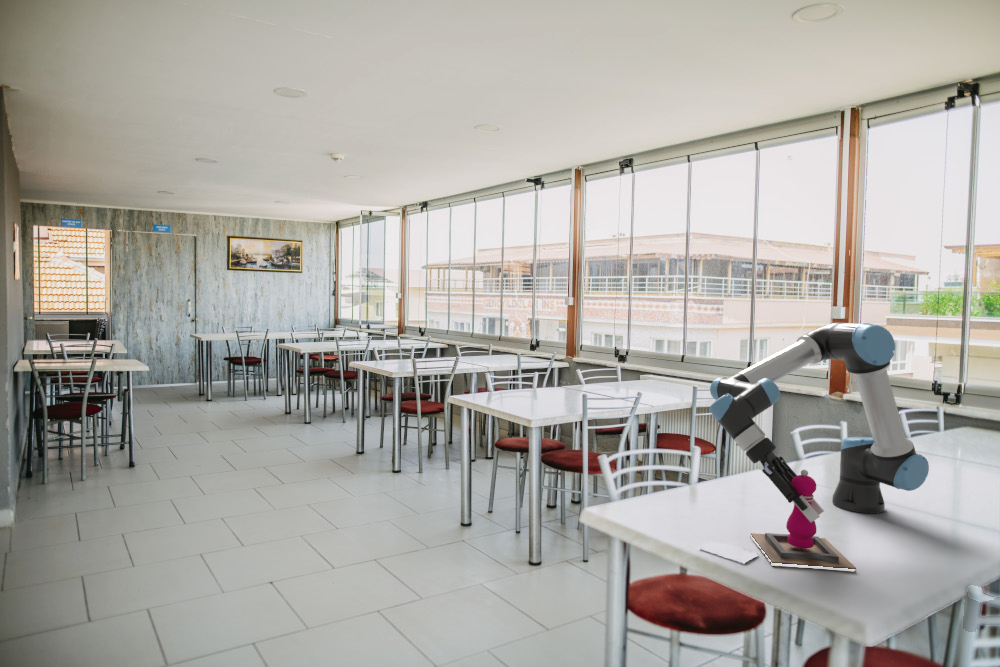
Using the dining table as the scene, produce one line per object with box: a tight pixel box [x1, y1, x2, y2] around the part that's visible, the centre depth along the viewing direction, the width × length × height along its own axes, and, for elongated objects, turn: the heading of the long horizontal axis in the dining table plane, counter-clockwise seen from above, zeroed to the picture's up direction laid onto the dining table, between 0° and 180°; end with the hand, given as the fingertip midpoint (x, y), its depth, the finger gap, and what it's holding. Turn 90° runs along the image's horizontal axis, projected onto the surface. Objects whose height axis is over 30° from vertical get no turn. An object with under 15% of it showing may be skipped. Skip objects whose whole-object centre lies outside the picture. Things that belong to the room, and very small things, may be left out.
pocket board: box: [750, 532, 857, 570], centre depth 171 cm, size 20×20×3 cm
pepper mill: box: [785, 469, 817, 548], centre depth 170 cm, size 7×7×20 cm
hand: (817, 516), depth 168 cm, fingers closed on pepper mill, 5 cm apart
